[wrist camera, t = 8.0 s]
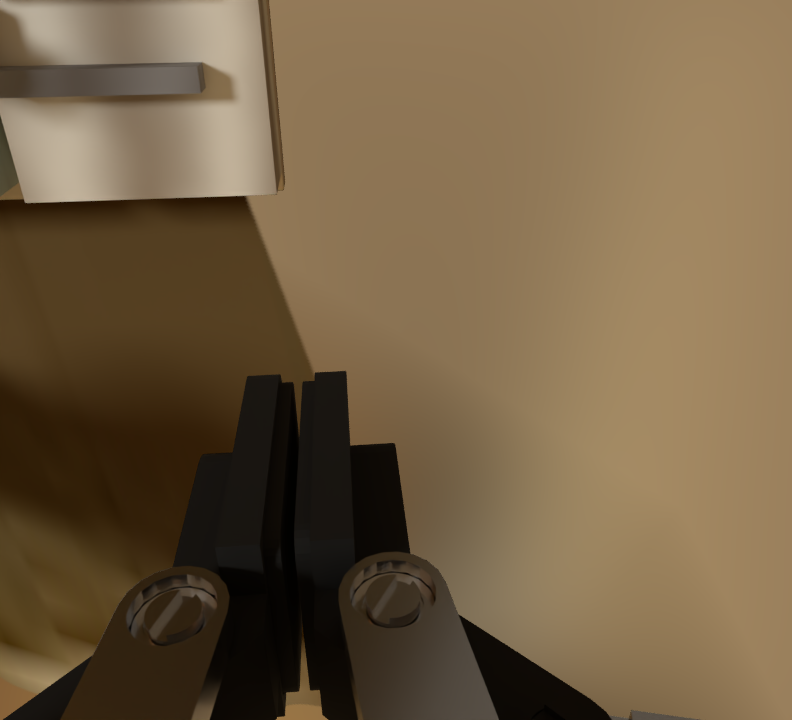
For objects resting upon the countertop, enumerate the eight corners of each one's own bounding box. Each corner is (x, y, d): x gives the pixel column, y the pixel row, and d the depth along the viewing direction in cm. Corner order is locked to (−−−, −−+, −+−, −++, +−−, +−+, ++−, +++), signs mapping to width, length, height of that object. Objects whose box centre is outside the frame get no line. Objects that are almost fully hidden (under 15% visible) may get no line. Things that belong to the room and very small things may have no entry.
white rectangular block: (250, -205, 29) (223, -258, 21) (285, 182, 37) (274, 240, 29) (-266, -206, 28) (-488, -265, 20) (-113, 195, 36) (-230, 260, 28)
